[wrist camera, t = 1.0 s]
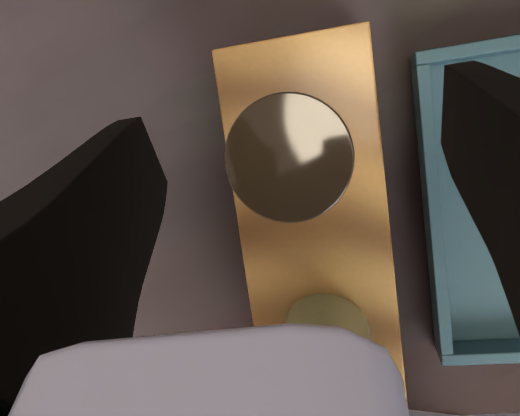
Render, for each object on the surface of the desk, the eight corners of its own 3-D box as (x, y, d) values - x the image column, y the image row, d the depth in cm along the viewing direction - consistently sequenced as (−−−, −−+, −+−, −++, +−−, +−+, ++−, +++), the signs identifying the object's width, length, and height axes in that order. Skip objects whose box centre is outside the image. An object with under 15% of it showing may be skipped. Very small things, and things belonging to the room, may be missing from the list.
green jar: (379, 378, 23) (387, 449, 18) (284, 381, 23) (267, 449, 19) (369, 287, 22) (374, 335, 17) (272, 294, 23) (251, 341, 18)
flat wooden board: (401, 372, 26) (408, 410, 23) (276, 376, 27) (266, 413, 24) (366, 34, 23) (369, 20, 20) (230, 59, 25) (210, 49, 21)
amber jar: (359, 194, 21) (361, 216, 16) (259, 205, 22) (233, 229, 17) (347, 90, 20) (346, 81, 16) (245, 106, 21) (214, 102, 17)
